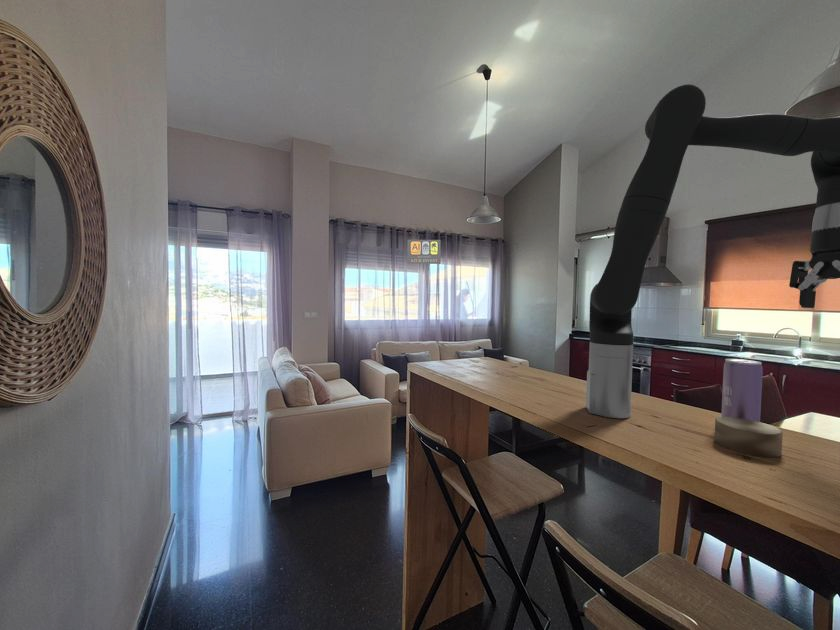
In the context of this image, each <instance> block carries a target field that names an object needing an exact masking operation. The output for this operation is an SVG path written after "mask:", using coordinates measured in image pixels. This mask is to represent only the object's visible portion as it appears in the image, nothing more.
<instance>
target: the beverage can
mask: <svg viewBox="0 0 840 630" xmlns="http://www.w3.org/2000/svg"><path fill="white" fill-rule="evenodd" d="M762 364H763V363H762V362H761V361H756V360H750V359H742V358H725V362H724V364H723V376H722V377H723V378H722V394H721V395H722V399H721V416H720V417H735V418H742V419H748V420H753V421H757V422H761V411H762V410H761V408H762V407H761V406H762V389H763V372H764V371H763V369H764V368H763V366H762Z"/></svg>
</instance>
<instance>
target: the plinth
mask: <svg viewBox="0 0 840 630" xmlns="http://www.w3.org/2000/svg"><path fill="white" fill-rule="evenodd" d="M714 421H715V422H714V437H713V439H714V442H715V443H717V444H718V445H720V446H722V447H724V448H727V449H729V450H732V451H735V452H739V453H742V454H747V455H750V456H755V455H757V456H756V457H761V456H762V457H761V458H772V457H773V458H781V457H782V453H783V452H782V451H783V437H784V436H783V434H784V433H783V431H782V430H781V429H780V428H779V427H776V426H774V425H771V424H767V423H764V422H761V421H760V422H757V421H753V420H748V419H742V418H735V417H721V416H719V417H717V418H715V420H714Z"/></svg>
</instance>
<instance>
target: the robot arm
mask: <svg viewBox="0 0 840 630" xmlns="http://www.w3.org/2000/svg"><path fill="white" fill-rule="evenodd" d="M706 101H707V100H706V95H705V93H704V92H703V90H702V89H701V88H700V87H699V86H698V85H697V86H696V85H694V84H682V85H680V86H676V87H675V88H673V89H671V90H670V91H668V92H667V93H666V94H665V95H664V96H663V97H662V98H661V99H659V101H658V102H657V104H656V106H655V107H654V109H653V110H652V112H651V113H650V115H649V117H648V119H646V123H645V125H644V132H645V133H644V134H645V136H646V138H647V139H648V140H649V143H648V145H647V148H646V151H645V154H644V155H643V158H642V160H641V161H640V164H639V166H638V167H637V169H636V171H635V173H634V174H633V177H632V178H631V181H630V182H629V185H628V187H627V189H626V192H625V193H624V194H625V195H624V196H623V199H622V202H621V206H620V209H619V212H618V214H617V218H616V222H615V223H616V224H615V227H614V233H613V242H612V248H611V253H610V255H609V256H610V257H609V259H608V261H607V264H606V266H605V268H604V271H603V273H602V275H601V278H600V279H599V281H598V282H597V283H596V284H595V285H594V286H593V288H592V290H591V292H590V297H589V322H588V323H589V328H588V329H589V350H588V351H589V352H588V353H589V355H588V356H589V357H588V370H587V371H586V393H585V395H586V397H585V398H586V400H585V402H586V403H585V407H586V410H587V412H588V414H593V415H597V416H600V417H605V418H610V419H611V418H612V419H627V418H630V417H631V413H632V412H631V411H632V410H631V409H632V386H633V385H632V383H633V382H632V381H633V359H634V358H633V356H634V355H633V353H634V339H635V337H634V332H633V326H632V311H633V310H632V309H633V308H634V307H635V305H636V304H637V302H638V298H639V295H640V289H641V284H642V280H643V276H644V272H645V267H646V264H647V261H648V257H649V256H650V253H651V251H652V249H653V248H654V244H655V243H656V241H657V237H658V235H659V233H660V230H661V228H662V226H663V223H664V221H665V218H666V215H667V212H668V209H669V206H670V204H671V200H672V197H673V193H674V191H675V187H676V184H677V182H678V177H679V174H680V170H681V167H682V163H683V160H684V157H685V154H686V151H687V150H688V147H689V146H699V147H718V148H732V149H740V150H746V151H754V152H759V153H764V154H772V155H776V156H777V155H778V156H783V157H797V156H800V155H804V154H806V153H810V152H812V153H811V155H810V156H811V158H810V169H811V172H812V175H813V180H814V183H815V185H816V188H817V192H816V202H815V203H816V204H815V212H814V215H813V219H812V224H811V225H812V226H811V234H810V235H811V236H810V244H809V245H810V246H809V253H811V258H810V260H794V261H793V262H792V265H791V272H790V278H789V283H788V284H789V285H788V287H789V288H793V289H797V290H799V299H798V300H799V301H798V303H799V306H800V307H801V308H802V309H813V308H815V305H816V295H817V294H816V293H817V290H816V289H817V288H819V286H820V285H821V284H824V283H826V282H827V280H837V279H840V116H836V117H834V116H833V117H821V118H813V117H807V116H800V115H799V116H798V115H791V114H785V113H757V114H749V115H741V116H729V117H728V116H727V117H725V116H724V117H720V116H719V117H717V116H716V117H714V116H708V115H704V113H705V110H706V104H707V102H706ZM809 270H810V271H809Z"/></svg>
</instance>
